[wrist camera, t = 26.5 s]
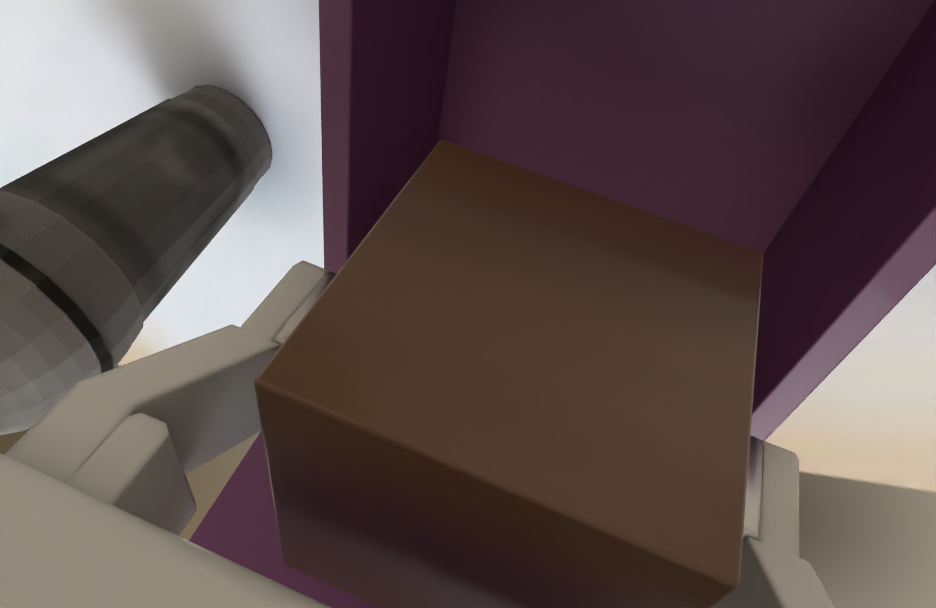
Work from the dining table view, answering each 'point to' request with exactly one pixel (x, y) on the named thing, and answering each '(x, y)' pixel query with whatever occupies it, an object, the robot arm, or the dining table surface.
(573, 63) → the box
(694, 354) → the block
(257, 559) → the box file lid
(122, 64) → the dining table surface
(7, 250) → the beverage cup
